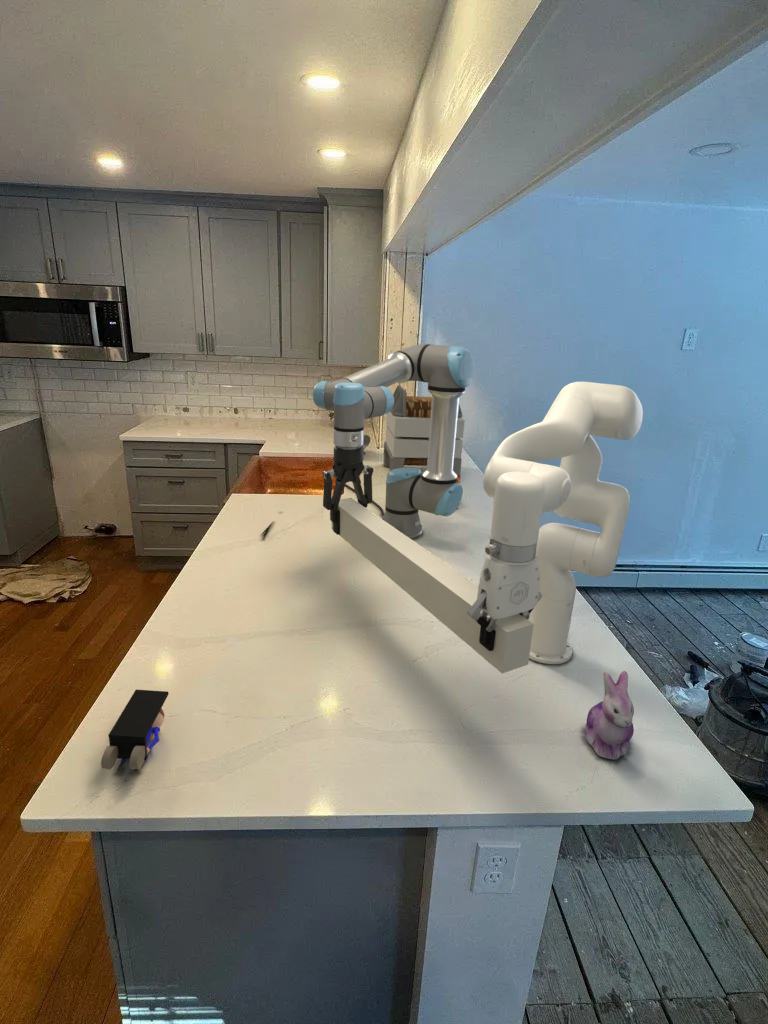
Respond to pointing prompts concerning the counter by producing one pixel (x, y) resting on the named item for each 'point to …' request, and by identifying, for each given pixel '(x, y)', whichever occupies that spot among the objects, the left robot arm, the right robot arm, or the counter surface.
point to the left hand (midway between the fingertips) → (347, 530)
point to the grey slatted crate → (413, 432)
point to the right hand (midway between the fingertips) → (501, 641)
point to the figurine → (611, 719)
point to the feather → (267, 530)
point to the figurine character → (135, 730)
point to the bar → (433, 585)
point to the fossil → (366, 442)
